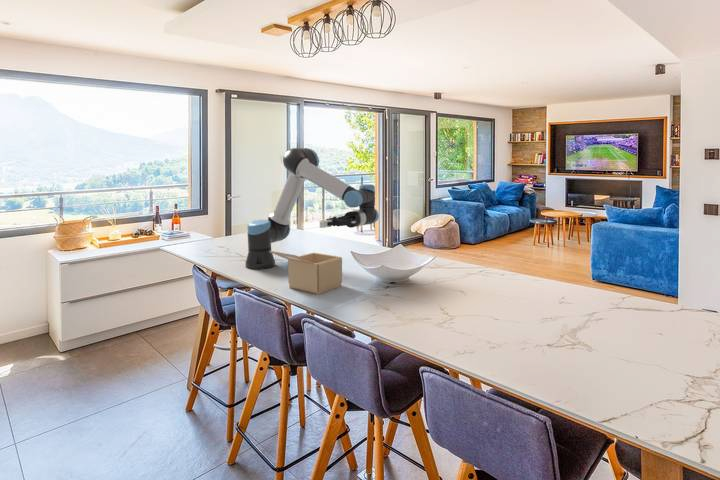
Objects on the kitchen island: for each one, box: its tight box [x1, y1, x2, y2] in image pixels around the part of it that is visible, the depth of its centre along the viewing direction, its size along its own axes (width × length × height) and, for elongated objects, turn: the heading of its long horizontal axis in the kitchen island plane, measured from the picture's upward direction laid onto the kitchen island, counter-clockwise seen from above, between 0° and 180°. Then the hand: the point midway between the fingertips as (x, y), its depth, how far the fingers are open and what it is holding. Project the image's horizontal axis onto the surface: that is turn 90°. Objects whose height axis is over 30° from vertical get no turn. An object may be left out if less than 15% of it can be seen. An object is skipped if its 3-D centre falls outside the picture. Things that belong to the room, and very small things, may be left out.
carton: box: [287, 252, 343, 295], centre depth 206 cm, size 18×17×13 cm
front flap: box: [269, 250, 315, 265], centre depth 193 cm, size 15×1×12 cm
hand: (321, 224), depth 205 cm, fingers closed
